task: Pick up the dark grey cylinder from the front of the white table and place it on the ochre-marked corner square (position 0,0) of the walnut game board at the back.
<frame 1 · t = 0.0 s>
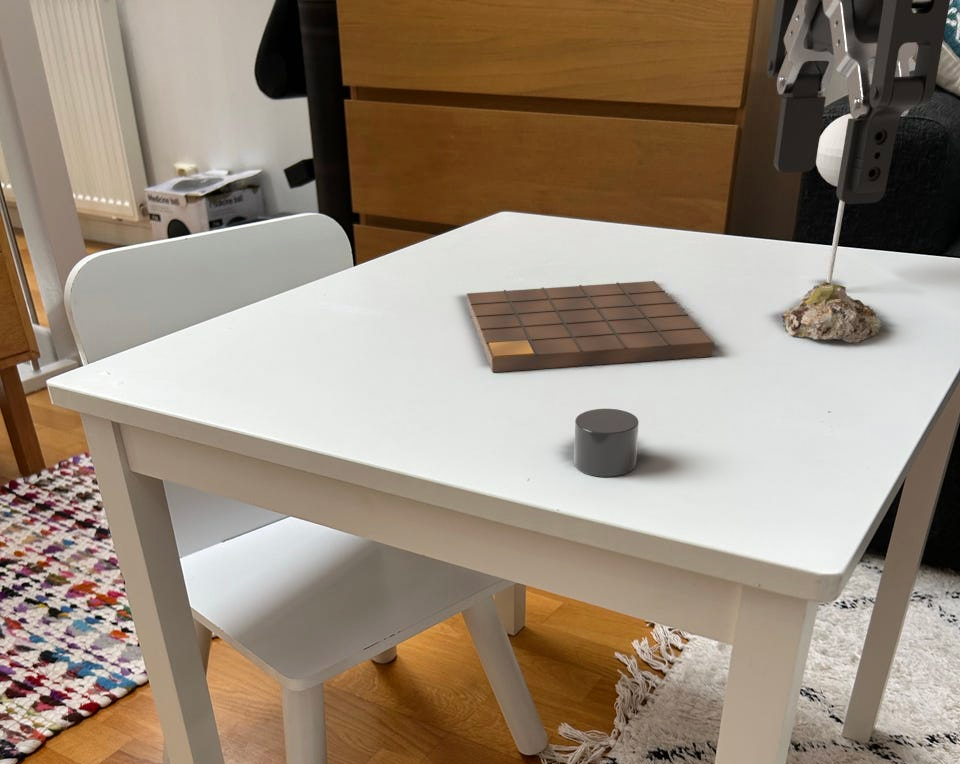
hand: (823, 185, 53), 17 cm above the table, tool pointing down, fingers open, 8 cm apart
dark grey cylinder: (604, 463, 65), on the table
lollipop: (826, 293, 94), on the table
mineral rock: (829, 329, 85), on the table
board: (580, 329, 87), on the table
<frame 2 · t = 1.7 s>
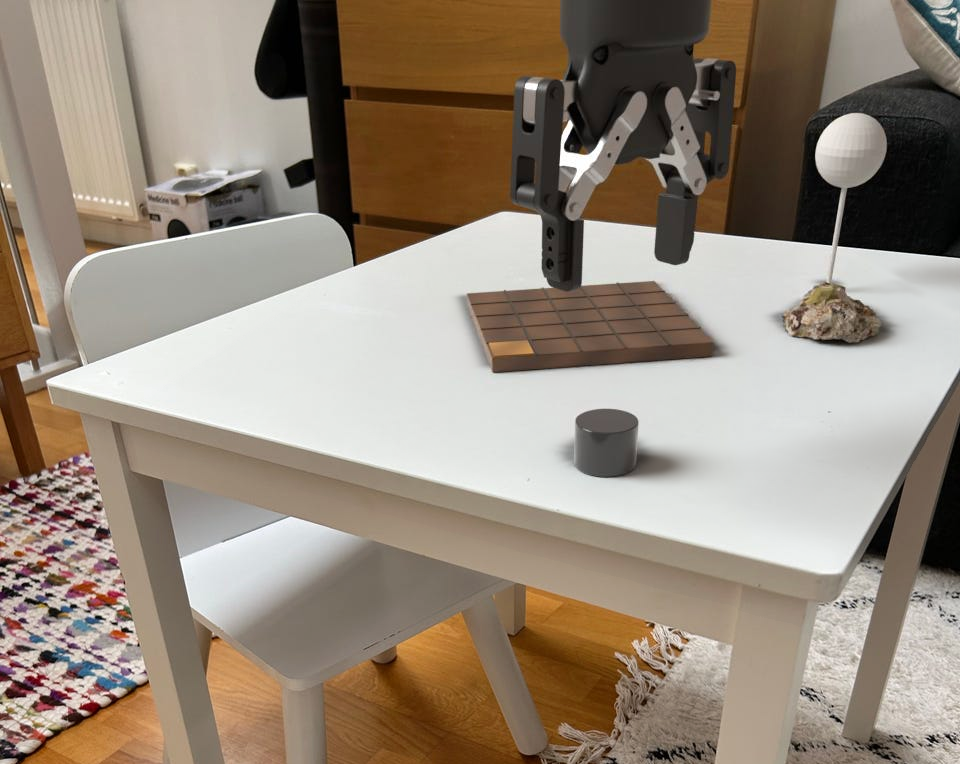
hand: (619, 274, 57), 12 cm above the table, tool pointing down, fingers open, 8 cm apart
nothing on the table moved.
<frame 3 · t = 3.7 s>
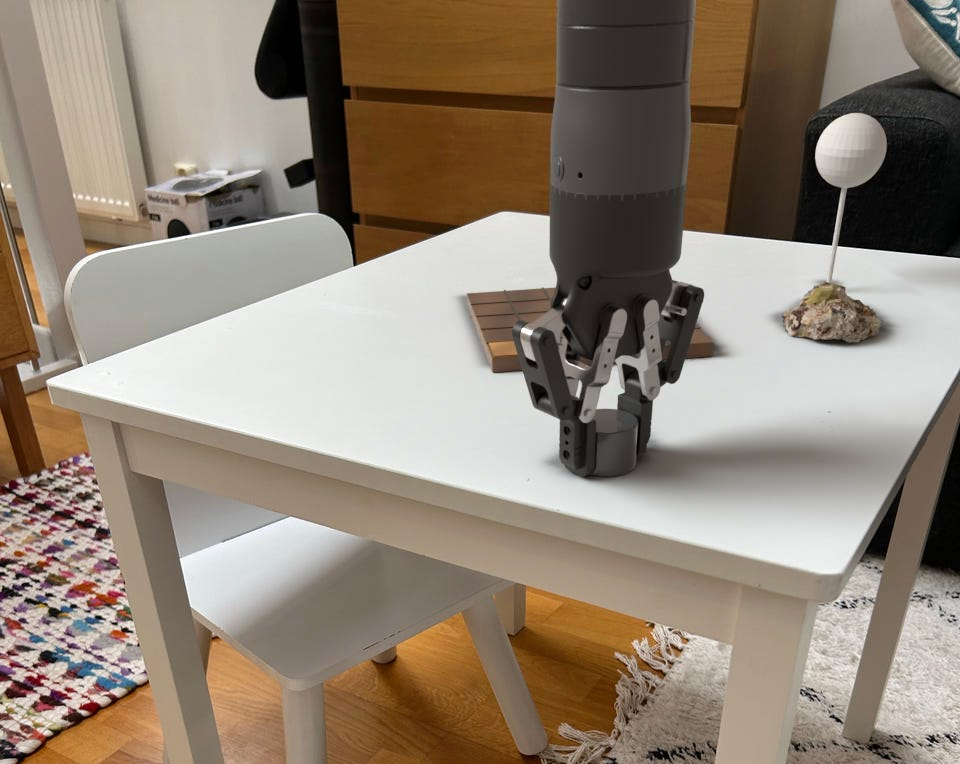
hand: (605, 460, 64), 0 cm above the table, tool pointing down, fingers closed on dark grey cylinder, 4 cm apart
dark grey cylinder: (604, 463, 65), on the table, touching gripper
everything else where it was.
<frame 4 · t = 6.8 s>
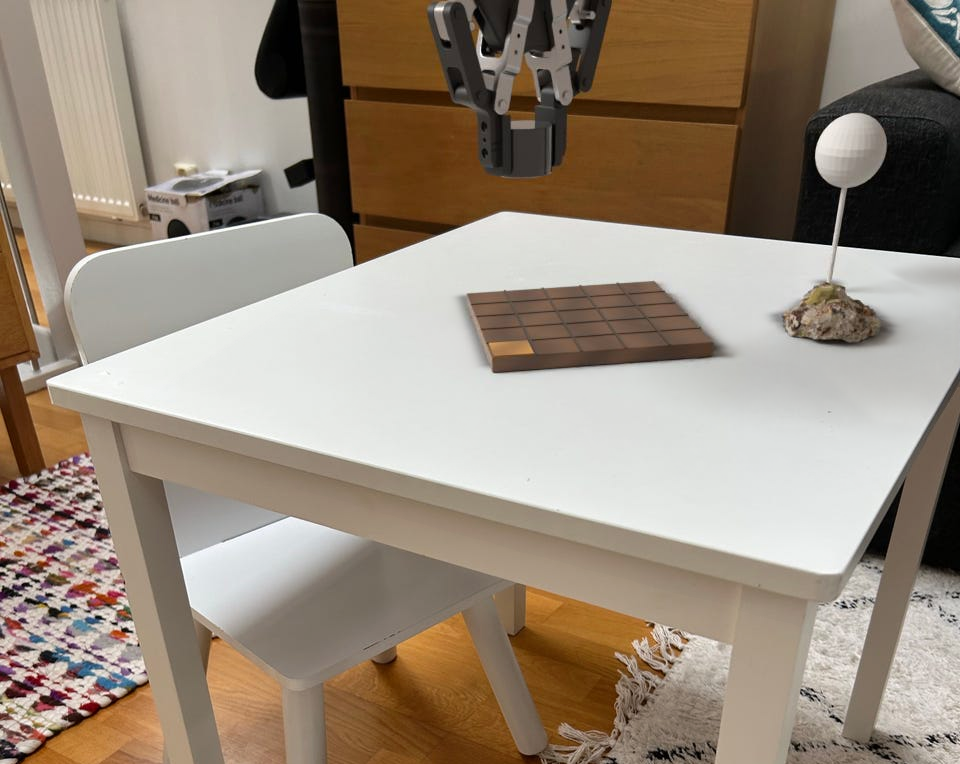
hand: (523, 168, 69), 15 cm above the table, tool pointing down, fingers closed on dark grey cylinder, 4 cm apart
dark grey cylinder: (523, 172, 69), point 15 cm above the table, touching gripper
everything else where it was.
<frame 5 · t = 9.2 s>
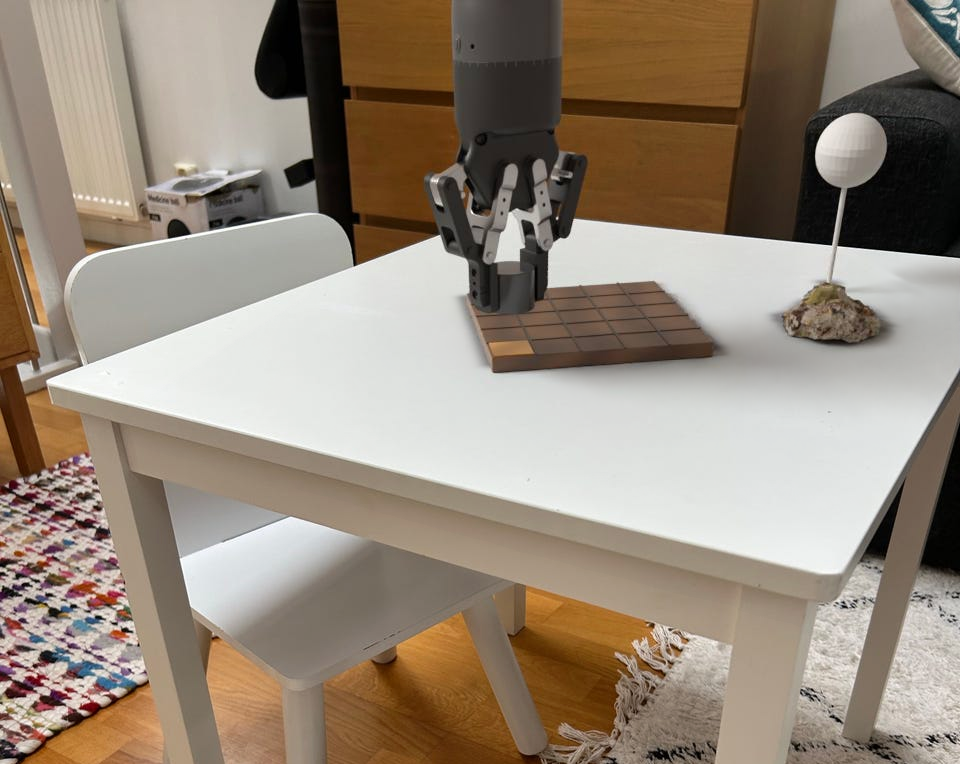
hand: (509, 303, 78), 5 cm above the table, tool pointing down, fingers closed on dark grey cylinder, 4 cm apart
dark grey cylinder: (509, 307, 78), point 5 cm above the table, touching gripper
everything else where it was.
when the fingers open (2 cm above the table, at t = 10.4 s): dark grey cylinder stays where it is, resting on board.
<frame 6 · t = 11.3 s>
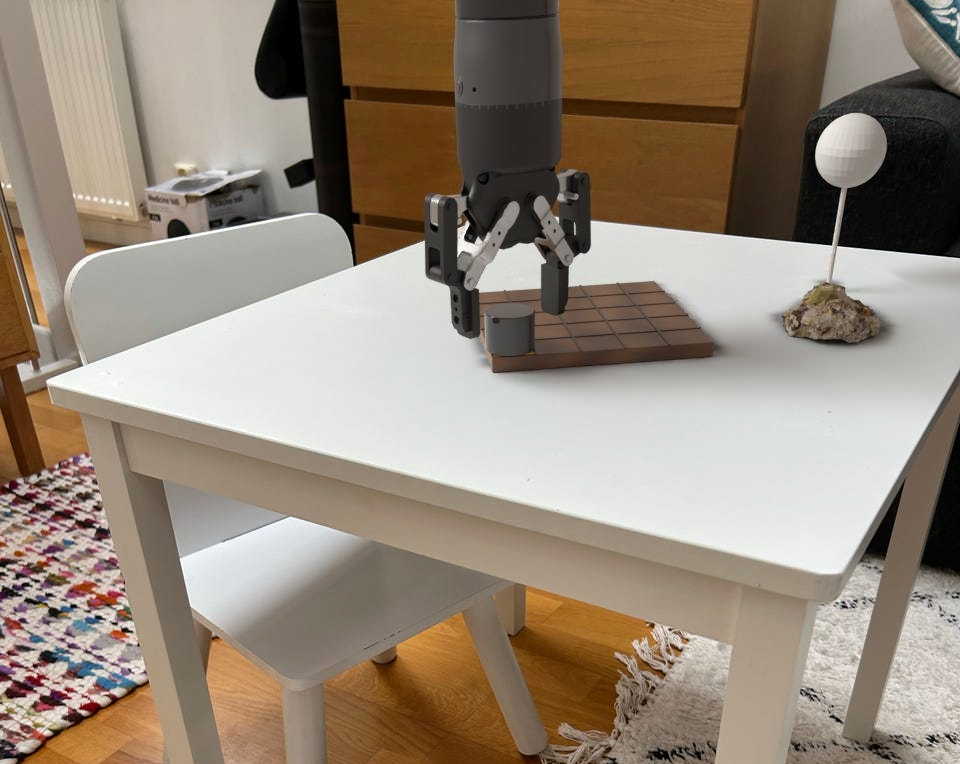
hand: (512, 324, 79), 3 cm above the table, tool pointing down, fingers open, 8 cm apart
dark grey cylinder: (510, 348, 80), point 1 cm above the table, touching board
everything else where it was.
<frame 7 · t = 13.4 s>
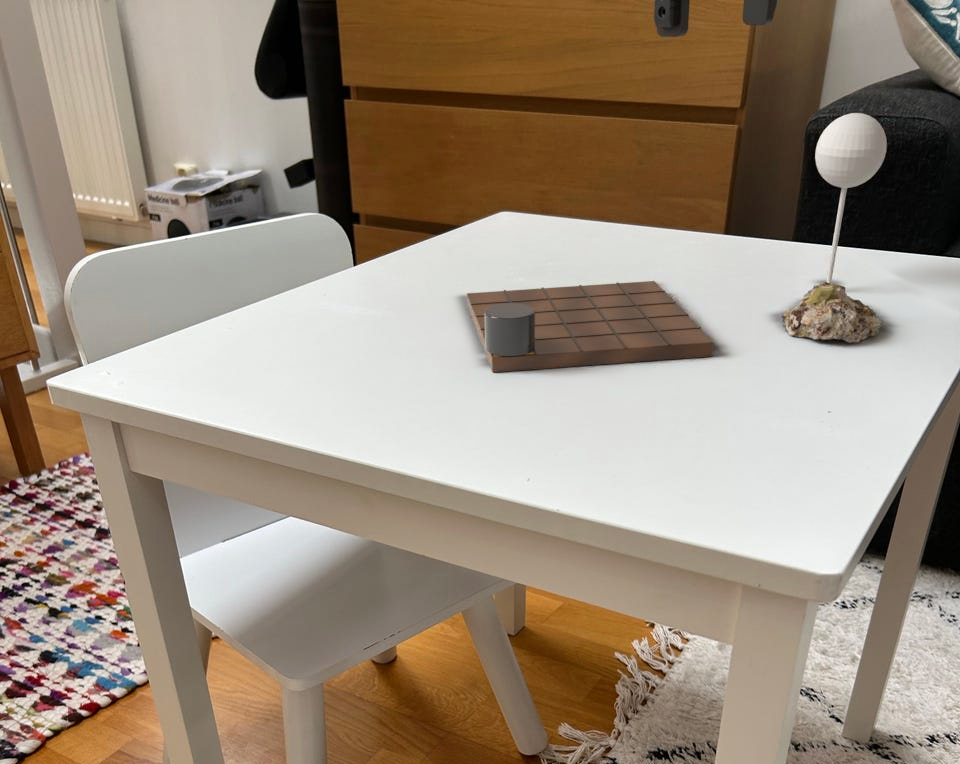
hand: (716, 30, 68), 23 cm above the table, tool pointing down, fingers open, 8 cm apart
nothing on the table moved.
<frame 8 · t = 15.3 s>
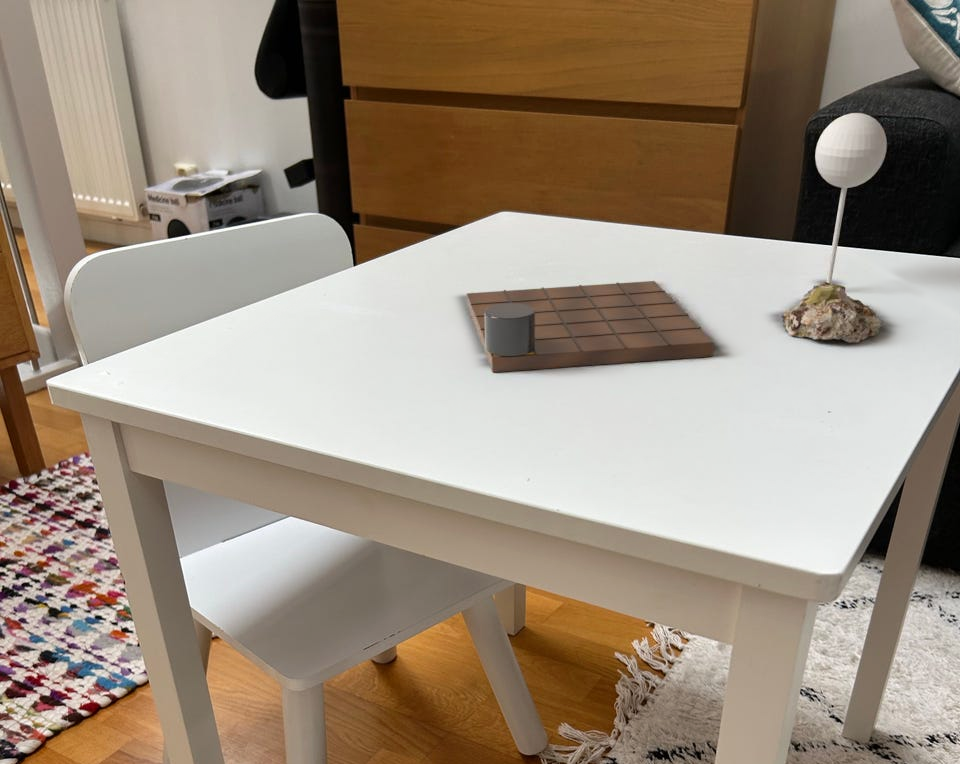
nothing on the table moved.
at the end: dark grey cylinder 0.1 cm from the target spot on the board, point 1.3 cm above the board's base; dark grey cylinder tilted 0°; the gripper is holding nothing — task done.
